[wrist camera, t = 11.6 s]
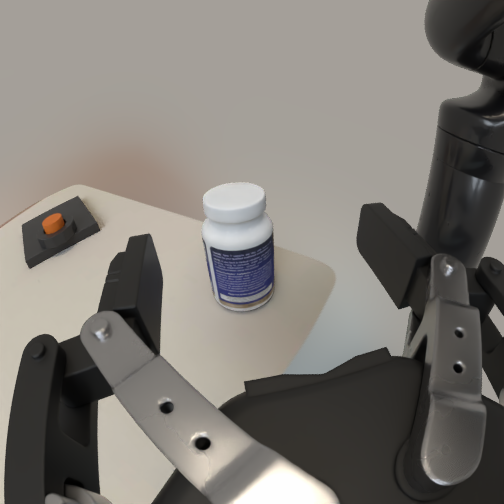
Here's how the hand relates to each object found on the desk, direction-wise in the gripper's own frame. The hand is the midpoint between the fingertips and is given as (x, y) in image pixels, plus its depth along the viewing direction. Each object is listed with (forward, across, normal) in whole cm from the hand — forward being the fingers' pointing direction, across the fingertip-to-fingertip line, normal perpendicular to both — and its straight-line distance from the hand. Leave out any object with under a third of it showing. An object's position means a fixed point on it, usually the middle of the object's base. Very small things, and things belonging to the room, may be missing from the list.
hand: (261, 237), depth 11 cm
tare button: (+25, +24, +11) cm, 37 cm away
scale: (+30, +27, +14) cm, 42 cm away
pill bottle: (+11, 0, +14) cm, 18 cm away
